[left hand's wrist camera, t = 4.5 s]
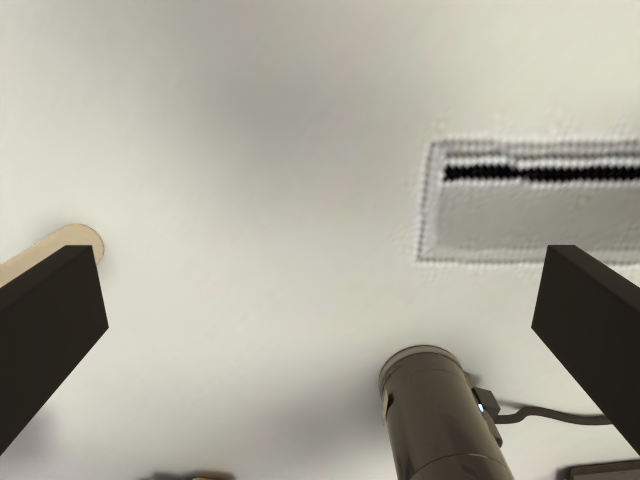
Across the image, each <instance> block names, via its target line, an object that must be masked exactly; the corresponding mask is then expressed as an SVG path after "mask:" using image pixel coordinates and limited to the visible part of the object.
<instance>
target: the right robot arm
mask: <svg viewBox="0 0 640 480" xmlns="http://www.w3.org/2000/svg"><path fill="white" fill-rule="evenodd" d="M379 389H380V394H381V398H382V401H383V411H382V420H383V425H384V423H385V416H386V421H387V426H388V432H389V437H390V442H391V447H392V452H393V457H394V462H395V467H396V472H397V477H398V480H515V479H514V477H513V475H512V473H511V471H510V469H509V467H508V464H507V462H506V460H505V458H504V456H503V454H502V452H501V450H500V447H501V446H502V443H503V441H502V438H501V436H500V434H499V432H498V430H497V428H496V426H495V424H511V423H517V422H520V421H522V420H523V419H524V418H525V417H526V416H529V415H538V416H544V417H548V418H552V419H556V420H560V421H564V422H568V423H574V424H580V425H609V424H612V423H611V421H610V420H609V419H608V418H607V417H581V416H574V415H569V414H565V413H561V412H557V411H553V410H549V409H545V408H538V407H525V408H522V409H520V410H519V411H518V412H517V413H515V414H511V415H498V413H499V411H500V410H501V409H500V407H499V405H498V403H497V401H496V399H495V398H494V396H493V394H492V392H491V391H488V390H485V389H481V388H477V387H476V386H475V384H474V382H473V380H472V378H471V376H470V375H469V374H468V373H465V372H464V371H463V369H462V367H461V365H460V363H459V362H458V360H457V359H456V358H455V357H454V356H453V355H451V354H450V353H449V352H447V351H445V350H443V349H440V348H437V347H432V346H417V347H412V348H409V349H406V350H403V351H401V352H399V353H398V354H396V355H395V356H393V357H392V358H391V359H390V360H389V361H388V362H387V363H386V364H385V366H384V367H383V369H382V371H381V374H380V377H379Z"/></svg>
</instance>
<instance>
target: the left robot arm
mask: <svg viewBox="0 0 640 480" xmlns="http://www.w3.org/2000/svg"><path fill="white" fill-rule="evenodd" d="M108 328H109V326H108V321H107V316H106V311H105V306H104V301H103V297H102V292H101V287H100V282H99V277H98V272H97V267H96V262H95V257H94V252H93V247H92V245H65V246H63V247H62V248H60V249H59V250H57V251H56V252H54V253H53V254H51V255H50V256H48V257H47V258H45V259H43V260H42V261H40V262H39V263H37V264H36V265H34V266H33V267H31V268H30V269H28V270H27V271H25V272H24V273H22V274H21V275H19V276H18V277H16V278H14V279H13V280H11V281H10V282H8V283H7V284H5V285H4V286H2V287H1V288H0V456H1V454H2V453H3V452H4V451H5V450H6V449H7V447H8V446H9V445H10V444H11V443H12V441H13V440H14V439H15V438H16V437H17V436H18V434H19V433H20V432H21V431H22V430H23V428H24V427H25V426H26V425H27V424H28V423H29V421H30V420H31V419H32V418H33V417H34V415H35V414H36V413H37V412H38V411H39V410H40V408H41V407H42V406H43V405H44V404H45V402H46V401H47V400H48V399H49V398H50V397H51V395H52V394H53V393H54V392H55V391H56V389H57V388H58V387H59V386H60V385H61V384H62V382H63V381H64V380H65V379H66V378H67V376H68V375H69V374H70V373H71V372H72V371H73V369H74V368H75V367H76V366H77V365H78V363H79V362H80V361H81V360H82V359H83V358H84V356H85V355H86V354H87V353H88V352H89V351H90V349H91V348H92V347H93V346H94V345H95V343H96V342H97V341H98V340H99V339H100V338H101V336H102V335H103V334H104V333H105V332H106V330H107V329H108ZM531 328H532V329H533V330H534V332H535V333H536V334H537V335H538V336H539V338H540V339H541V340H542V341H543V342H544V343H545V345H546V346H547V347H548V348H549V349H550V351H551V352H552V353H553V354H554V355H555V356H556V358H557V359H558V360H559V361H560V362H561V363H562V365H563V366H564V367H565V368H566V369H567V371H568V372H569V373H570V374H571V375H572V376H573V378H574V379H575V380H576V381H577V382H578V384H579V385H580V386H581V387H582V388H583V389H584V391H585V392H586V393H587V394H588V395H589V397H590V398H591V399H592V400H593V401H594V402H595V404H596V405H597V406H598V407H599V408H600V410H601V411H602V412H603V413H604V414H605V415H606V417H607V418H608V419H609V420H610V421H611V423H612V424H613V425H614V426H615V427H616V428H617V430H618V431H619V432H620V433H621V434H622V436H623V437H624V438H625V439H626V440H627V441H628V443H629V444H630V445H631V446H632V447H633V449H634V450H635V451H636V452H637V453H638V454H639V456H640V288H639V287H638V286H636V285H635V284H633V283H632V282H630V281H629V280H627V279H626V278H624V277H622V276H621V275H619V274H618V273H616V272H615V271H613V270H612V269H610V268H609V267H607V266H606V265H604V264H603V263H601V262H600V261H598V260H597V259H595V258H593V257H592V256H590V255H589V254H587V253H586V252H584V251H583V250H581V249H580V248H578V247H577V246H575V245H548V247H547V252H546V257H545V262H544V267H543V272H542V277H541V282H540V287H539V292H538V297H537V301H536V306H535V311H534V316H533V321H532V326H531Z"/></svg>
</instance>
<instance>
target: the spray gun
mask: <svg viewBox="0 0 640 480" xmlns="http://www.w3.org/2000/svg"><path fill="white" fill-rule="evenodd" d="M192 480H214V479H206V478H194V479H192Z"/></svg>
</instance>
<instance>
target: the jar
mask: <svg viewBox="0 0 640 480" xmlns="http://www.w3.org/2000/svg"><path fill="white" fill-rule="evenodd" d="M65 245H92V247H93V252H94V257H95V262H96V264H97V263H98V262H99V261H100V260H101V258H102V256H103V253H104V246H103V242H102V240H101V238H100V237H99V235H98V234H97V233H96V232H95V231H94V230H92V229H91V228H89V227H87V226H85V225H81V224H71V225H67V226H65V227H63V228H62V229H60V230H58V231H57V232H55V233H53V234H51V235H50V236H48V237H46V238H45V239H43V240H41V241H39V242H38V243H36V244H34V245H32V246H31V247H29V248H27V249H26V250H24V251H22V252H20V253H19V254H17V255H15V256H14V257H12V258H10V259H8V260H7V261H5V262H3V263H2V264H0V288H1V287H2V286H4V285H5V284H7V283H8V282H10V281H11V280H13V279H14V278H16V277H18V276H19V275H21V274H22V273H24V272H25V271H27V270H28V269H30V268H31V267H33V266H34V265H36V264H37V263H39V262H40V261H42V260H43V259H45V258H47V257H48V256H50V255H51V254H53V253H54V252H56V251H57V250H59V249H60V248H62V247H63V246H65Z"/></svg>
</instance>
